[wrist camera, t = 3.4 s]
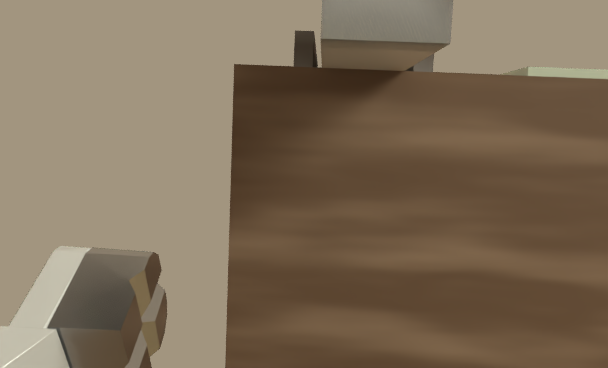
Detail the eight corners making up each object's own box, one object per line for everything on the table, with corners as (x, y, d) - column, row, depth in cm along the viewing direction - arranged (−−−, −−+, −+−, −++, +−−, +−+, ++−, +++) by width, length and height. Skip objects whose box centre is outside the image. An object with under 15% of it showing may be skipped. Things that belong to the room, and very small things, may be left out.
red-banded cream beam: (451, 44, 16) (459, -73, 15) (319, 39, 16) (324, -78, 15) (377, 87, 38) (379, 40, 37) (322, 85, 38) (324, 37, 37)
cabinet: (711, 652, 27) (788, 49, 24) (217, 619, 28) (235, 28, 25) (573, 463, 42) (610, 77, 39) (255, 445, 42) (268, 63, 40)
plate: (719, 84, 24) (720, 74, 24) (527, 76, 25) (528, 66, 25) (575, 98, 38) (576, 91, 38) (454, 93, 39) (454, 87, 39)
